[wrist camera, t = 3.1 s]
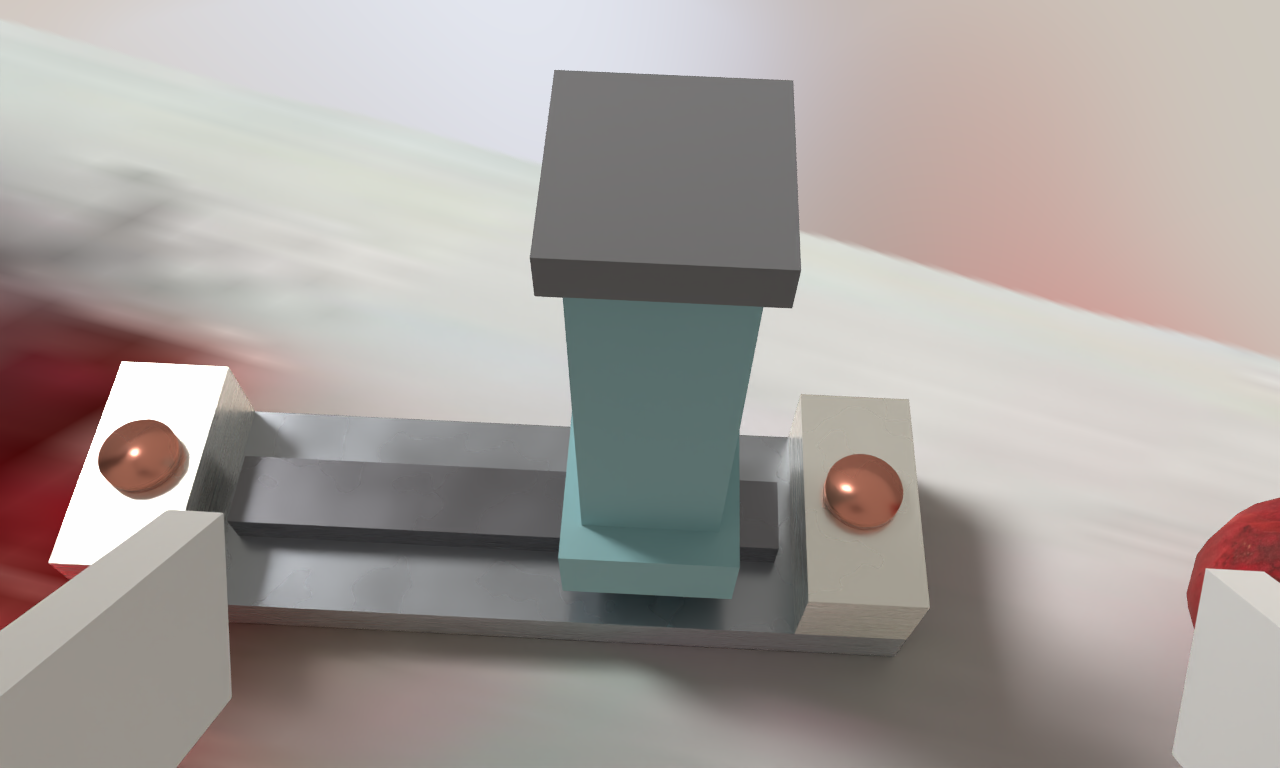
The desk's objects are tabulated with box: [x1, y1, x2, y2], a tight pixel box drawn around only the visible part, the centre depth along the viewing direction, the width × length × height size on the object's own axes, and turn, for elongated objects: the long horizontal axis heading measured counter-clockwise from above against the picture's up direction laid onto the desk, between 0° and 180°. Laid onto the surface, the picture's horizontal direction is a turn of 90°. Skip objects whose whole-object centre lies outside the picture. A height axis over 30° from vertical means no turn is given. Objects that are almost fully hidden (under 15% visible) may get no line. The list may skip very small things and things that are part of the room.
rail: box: [48, 362, 930, 656], centre depth 29 cm, size 22×6×4 cm, turn 87°
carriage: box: [530, 70, 801, 599], centre depth 23 cm, size 4×5×13 cm
